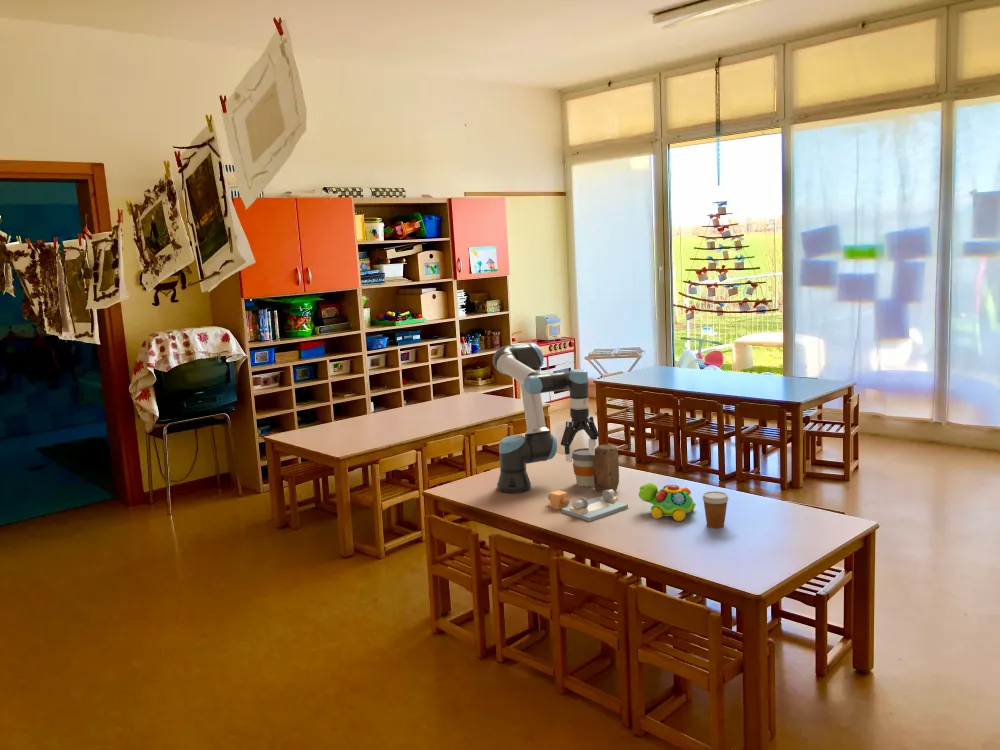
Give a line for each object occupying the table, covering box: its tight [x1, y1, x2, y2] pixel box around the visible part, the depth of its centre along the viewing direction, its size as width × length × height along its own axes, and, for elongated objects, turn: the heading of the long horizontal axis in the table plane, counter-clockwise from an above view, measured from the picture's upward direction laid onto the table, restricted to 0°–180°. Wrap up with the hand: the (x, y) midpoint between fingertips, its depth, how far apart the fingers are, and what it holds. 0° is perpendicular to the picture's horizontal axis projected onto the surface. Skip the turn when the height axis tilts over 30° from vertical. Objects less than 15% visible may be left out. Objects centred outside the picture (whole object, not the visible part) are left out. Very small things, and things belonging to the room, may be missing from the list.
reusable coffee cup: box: [572, 447, 595, 488], centre depth 359 cm, size 13×13×15 cm
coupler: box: [547, 489, 570, 510], centre depth 330 cm, size 5×10×6 cm, turn 38°
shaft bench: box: [561, 489, 629, 522], centre depth 324 cm, size 16×23×7 cm
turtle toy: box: [638, 482, 697, 522], centre depth 315 cm, size 17×23×12 cm
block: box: [593, 443, 620, 493], centre depth 347 cm, size 11×8×20 cm
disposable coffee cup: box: [702, 490, 730, 529], centre depth 300 cm, size 10×10×12 cm
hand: (580, 458), depth 327 cm, fingers open, 13 cm apart
